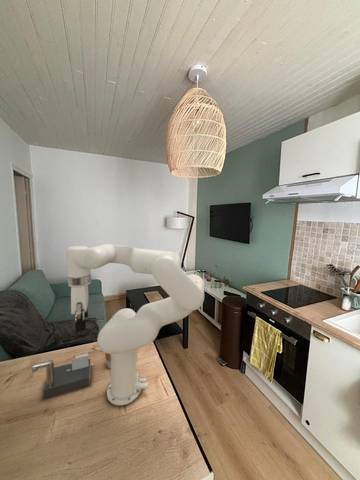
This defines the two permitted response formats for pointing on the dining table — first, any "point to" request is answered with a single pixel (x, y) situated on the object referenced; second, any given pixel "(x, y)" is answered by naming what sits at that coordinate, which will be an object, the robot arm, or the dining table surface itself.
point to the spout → (49, 370)
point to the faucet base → (67, 380)
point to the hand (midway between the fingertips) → (82, 323)
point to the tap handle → (80, 361)
